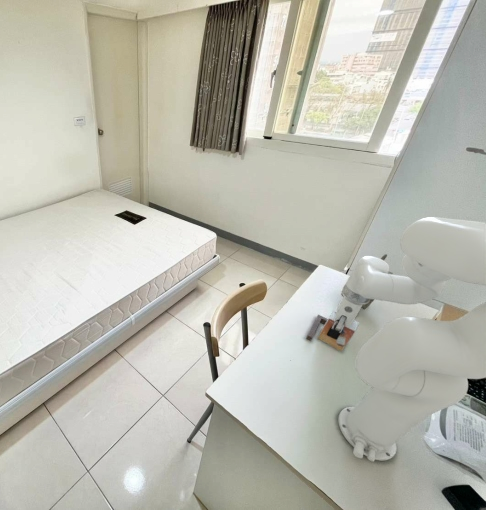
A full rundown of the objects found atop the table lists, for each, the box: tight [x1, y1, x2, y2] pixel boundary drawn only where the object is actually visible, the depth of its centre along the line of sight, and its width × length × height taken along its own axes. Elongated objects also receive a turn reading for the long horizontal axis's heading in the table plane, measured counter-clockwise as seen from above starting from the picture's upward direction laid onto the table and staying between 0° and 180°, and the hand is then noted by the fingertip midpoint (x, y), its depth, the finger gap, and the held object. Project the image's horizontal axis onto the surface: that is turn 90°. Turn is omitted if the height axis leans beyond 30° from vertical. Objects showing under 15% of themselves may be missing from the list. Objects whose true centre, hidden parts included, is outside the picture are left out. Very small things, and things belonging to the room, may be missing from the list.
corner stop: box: [305, 314, 328, 342], centre depth 98 cm, size 14×11×2 cm
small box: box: [317, 310, 360, 352], centre depth 94 cm, size 8×6×10 cm
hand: (334, 329), depth 95 cm, fingers open, 7 cm apart
